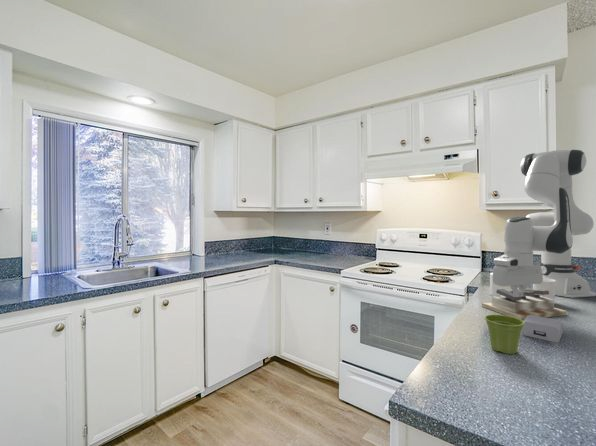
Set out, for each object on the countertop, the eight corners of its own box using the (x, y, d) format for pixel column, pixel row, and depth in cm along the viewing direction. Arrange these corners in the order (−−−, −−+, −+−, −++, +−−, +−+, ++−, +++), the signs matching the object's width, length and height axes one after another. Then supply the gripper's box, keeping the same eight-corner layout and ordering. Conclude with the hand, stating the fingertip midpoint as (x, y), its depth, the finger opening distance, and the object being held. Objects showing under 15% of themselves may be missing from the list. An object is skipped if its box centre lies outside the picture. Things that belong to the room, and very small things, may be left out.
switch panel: (523, 302, 133) (523, 289, 133) (566, 314, 116) (566, 299, 116) (481, 306, 127) (481, 293, 127) (520, 320, 111) (520, 304, 111)
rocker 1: (502, 292, 124) (502, 288, 124) (520, 300, 116) (521, 296, 116) (496, 292, 123) (496, 289, 123) (514, 300, 116) (515, 297, 115)
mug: (491, 271, 149) (521, 274, 142) (491, 292, 150) (521, 296, 142) (489, 274, 143) (520, 277, 135) (489, 296, 143) (520, 300, 136)
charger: (564, 330, 102) (559, 343, 91) (530, 323, 108) (521, 335, 98) (564, 316, 102) (559, 328, 91) (530, 310, 108) (521, 320, 98)
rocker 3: (529, 292, 128) (528, 289, 128) (549, 294, 120) (548, 290, 120) (523, 293, 127) (523, 289, 127) (543, 294, 119) (542, 290, 119)
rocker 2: (516, 294, 126) (515, 290, 126) (535, 295, 118) (534, 291, 118) (510, 294, 125) (509, 290, 125) (529, 296, 117) (528, 292, 118)
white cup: (560, 305, 128) (560, 281, 128) (538, 304, 129) (538, 281, 129) (548, 300, 136) (548, 277, 135) (528, 299, 137) (528, 277, 137)
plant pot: (477, 342, 92) (477, 314, 92) (509, 342, 92) (509, 314, 92) (497, 357, 83) (497, 325, 83) (532, 357, 82) (533, 325, 82)
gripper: (531, 258, 121) (531, 292, 121) (489, 259, 116) (489, 296, 116) (548, 260, 115) (547, 296, 115) (504, 262, 110) (504, 300, 110)
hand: (518, 296), depth 116 cm, fingers closed, pressing on rocker 1
